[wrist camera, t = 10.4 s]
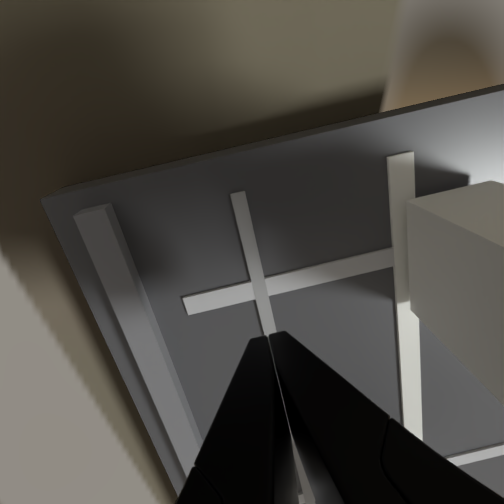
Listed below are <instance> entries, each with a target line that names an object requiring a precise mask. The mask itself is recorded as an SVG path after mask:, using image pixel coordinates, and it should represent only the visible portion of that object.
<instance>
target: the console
mask: <svg viewBox="0 0 504 504" xmlns="http://www.w3.org/2000/svg"><path fill="white" fill-rule="evenodd" d="M490 180H492V181H495V182H499V183H503V184H504V84H501V85H497V86H492V87H488V88H484V89H479V90H475V91H471V92H467V93H463V94H458V95H454V96H450V97H445V98H441V99H437V100H433V101H428V102H424V103H420V104H416V105H411V106H407V107H403V108H399V109H395V110H390V111H386V112H382V113H377V114H373V115H369V116H365V117H360V118H356V119H352V120H348V121H343V122H339V123H335V124H331V125H326V126H322V127H318V128H314V129H309V130H305V131H301V132H297V133H292V134H288V135H284V136H279V137H275V138H271V139H267V140H262V141H258V142H254V143H250V144H245V145H241V146H237V147H233V148H228V149H224V150H220V151H216V152H211V153H207V154H203V155H199V156H194V157H190V158H186V159H182V160H177V161H173V162H169V163H165V164H160V165H156V166H152V167H148V168H143V169H139V170H135V171H131V172H126V173H122V174H118V175H114V176H109V177H105V178H101V179H97V180H92V181H88V182H84V183H80V184H75V185H71V186H67V187H63V188H61V189H59V190H57V191H55V192H53V193H51V194H49V195H47V196H45V197H43V198H41V199H40V202H41V204H42V206H43V208H44V210H45V212H46V214H47V217H48V219H49V221H50V223H51V225H52V227H53V229H54V232H55V234H56V236H57V238H58V240H59V242H60V244H61V247H62V249H63V251H64V253H65V255H66V257H67V260H68V262H69V264H70V266H71V268H72V270H73V272H74V275H75V277H76V279H77V281H78V283H79V285H80V287H81V290H82V292H83V294H84V296H85V298H86V300H87V302H88V305H89V307H90V309H91V311H92V313H93V315H94V317H95V320H96V322H97V324H98V326H99V328H100V330H101V332H102V335H103V337H104V339H105V341H106V343H107V345H108V347H109V350H110V352H111V354H112V356H113V358H114V360H115V363H116V365H117V367H118V369H119V371H120V373H121V375H122V378H123V380H124V382H125V384H126V386H127V388H128V390H129V393H130V395H131V397H132V399H133V401H134V403H135V405H136V408H137V410H138V412H139V414H140V416H141V418H142V420H143V423H144V425H145V427H146V429H147V431H148V433H149V435H150V438H151V440H152V442H153V444H154V446H155V448H156V451H157V453H158V455H159V457H160V459H161V461H162V463H163V466H164V468H165V470H166V472H167V474H168V476H169V478H170V481H171V483H172V485H173V487H174V489H175V491H176V493H177V496H179V494H180V492H181V490H182V488H183V486H184V484H185V481H186V479H187V477H188V475H189V472H190V470H191V468H192V467H193V466H194V462H195V459H196V457H197V455H198V453H199V451H200V448H201V446H202V444H203V442H204V439H205V437H206V435H207V433H208V430H209V428H210V426H211V424H212V422H213V419H214V417H215V415H216V413H217V410H218V408H219V406H220V404H221V401H222V399H223V397H224V395H225V393H226V390H227V388H228V386H229V384H230V381H231V379H232V377H233V375H234V372H235V370H236V368H237V366H238V364H239V361H240V359H241V357H242V355H243V352H244V350H245V348H246V346H247V343H248V341H249V340H250V339H251V338H254V337H258V336H262V335H266V336H267V337H268V336H269V334H271V333H275V332H279V331H283V330H284V331H287V332H288V333H289V334H291V335H292V336H293V337H294V338H295V339H297V340H298V341H299V342H300V343H302V344H303V345H304V346H305V347H307V348H308V349H309V350H310V351H311V352H313V353H314V354H315V355H316V356H318V357H319V358H320V359H321V360H323V361H324V362H325V363H326V364H327V365H329V366H330V367H331V368H332V369H334V370H335V371H336V372H337V373H338V374H340V375H341V376H342V377H343V378H345V379H346V380H347V381H348V382H350V383H351V384H352V385H353V386H354V387H356V388H357V389H358V390H359V391H361V392H362V393H363V394H364V395H366V396H367V397H368V398H369V399H370V400H372V401H373V402H374V403H375V404H377V405H378V406H379V407H380V408H381V409H383V410H384V411H385V412H386V413H388V414H389V415H390V418H394V419H395V420H396V421H398V422H399V423H400V424H401V425H403V426H404V427H405V428H406V429H407V430H409V431H410V432H411V433H412V434H414V435H415V436H416V437H418V438H419V439H420V440H422V441H423V442H424V443H425V444H427V445H428V446H429V447H431V448H432V449H433V450H435V451H436V452H437V453H439V454H440V455H441V456H443V457H444V458H446V459H447V460H449V461H450V462H452V463H453V464H454V465H456V466H457V467H459V468H460V469H462V470H463V471H465V472H466V473H467V474H469V475H470V476H472V477H473V478H475V479H476V480H478V481H479V482H481V483H482V484H484V485H485V486H487V487H488V488H490V489H491V490H493V491H494V492H496V493H497V494H499V495H500V496H502V497H503V498H504V406H503V405H502V404H501V403H500V402H499V401H498V400H497V398H496V397H495V396H494V395H493V394H492V393H491V392H490V391H489V390H488V389H487V388H486V387H485V386H484V385H483V384H482V383H481V382H480V381H479V380H478V379H477V378H476V377H475V376H474V375H473V374H472V373H471V372H470V371H469V370H468V369H467V368H466V367H465V366H464V365H463V364H462V363H461V361H460V360H459V359H458V358H457V357H456V356H455V355H454V354H453V353H452V352H451V351H450V350H449V349H448V348H447V347H446V346H445V345H444V344H443V343H442V342H441V341H440V340H439V339H438V338H437V337H436V336H435V335H434V334H433V333H432V332H431V331H430V330H429V329H428V328H427V327H426V326H425V324H424V323H423V322H422V321H421V320H420V319H419V318H418V317H417V316H416V315H415V314H414V313H413V312H412V311H411V310H410V287H409V263H408V239H407V215H406V200H410V199H414V198H418V197H422V196H427V195H431V194H435V193H439V192H443V191H448V190H452V189H456V188H460V187H465V186H469V185H473V184H477V183H481V182H486V181H490ZM268 339H269V338H268ZM269 344H270V343H269ZM270 348H271V347H270ZM271 352H272V351H271ZM272 356H273V355H272ZM274 365H275V364H274ZM275 369H276V368H275ZM276 373H277V372H276ZM277 377H278V376H277ZM279 386H280V385H279ZM280 390H281V389H280ZM281 394H282V393H281ZM282 398H283V397H282ZM284 407H285V406H284ZM285 411H286V410H285ZM286 415H287V414H286ZM287 419H288V418H287ZM288 424H289V422H288ZM289 428H290V426H289ZM290 433H291V430H290ZM291 439H292V446H293V454H294V463H295V472H296V480H297V489H298V498H299V504H317V503H316V500H315V498H314V495H313V492H312V490H311V487H310V484H309V481H308V479H307V476H306V473H305V471H304V468H303V465H302V462H301V460H300V457H299V454H298V452H297V449H296V446H295V443H294V440H293V437H292V434H291Z"/></svg>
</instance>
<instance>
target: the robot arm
mask: <svg viewBox="0 0 504 504" xmlns="http://www.w3.org/2000/svg"><path fill="white" fill-rule="evenodd" d="M268 338H269V339H268ZM269 343H270V344H269ZM270 347H271V348H270ZM271 351H272V352H271ZM272 355H273V356H272ZM274 364H275V365H274ZM275 368H276V369H275ZM276 372H277V373H276ZM277 376H278V377H277ZM279 385H280V386H279ZM280 389H281V390H280ZM281 393H282V394H281ZM282 397H283V398H282ZM284 406H285V407H284ZM285 410H286V411H285ZM286 414H287V415H286ZM287 418H288V419H287ZM288 422H289V424H288ZM289 426H290V428H289ZM290 430H291V433H290ZM291 434H292V437H293V440H294V443H295V446H296V449H297V452H298V454H299V457H300V460H301V462H302V465H303V468H304V471H305V473H306V476H307V479H308V481H309V484H310V487H311V490H312V492H313V495H314V498H315V500H316V503H317V504H504V498H503V497H502V496H500V495H499V494H497V493H496V492H494V491H493V490H491V489H490V488H488V487H487V486H485V485H484V484H482V483H481V482H479V481H478V480H476V479H475V478H473V477H472V476H470V475H469V474H467V473H466V472H465V471H463V470H462V469H460V468H459V467H457V466H456V465H454V464H453V463H452V462H450V461H449V460H447V459H446V458H444V457H443V456H441V455H440V454H439V453H437V452H436V451H435V450H433V449H432V448H431V447H429V446H428V445H427V444H425V443H424V442H423V441H422V440H420V439H419V438H418V437H416V436H415V435H414V434H412V433H411V432H410V431H409V430H407V429H406V428H405V427H404V426H403V425H401V424H400V423H399V422H398V421H396V420H395V419H394V418H390V415H389V414H388V413H386V412H385V411H384V410H383V409H381V408H380V407H379V406H378V405H377V404H375V403H374V402H373V401H372V400H370V399H369V398H368V397H367V396H366V395H364V394H363V393H362V392H361V391H359V390H358V389H357V388H356V387H354V386H353V385H352V384H351V383H350V382H348V381H347V380H346V379H345V378H343V377H342V376H341V375H340V374H338V373H337V372H336V371H335V370H334V369H332V368H331V367H330V366H329V365H327V364H326V363H325V362H324V361H323V360H321V359H320V358H319V357H318V356H316V355H315V354H314V353H313V352H311V351H310V350H309V349H308V348H307V347H305V346H304V345H303V344H302V343H300V342H299V341H298V340H297V339H295V338H294V337H293V336H292V335H291V334H289V333H288V332H287V331H284V330H283V331H279V332H275V333H271V334H269V336H268V337H267V336H266V335H262V336H258V337H254V338H251V339H250V340H249V341H248V343H247V346H246V348H245V350H244V352H243V355H242V357H241V359H240V361H239V364H238V366H237V368H236V370H235V372H234V375H233V377H232V379H231V381H230V384H229V386H228V388H227V390H226V393H225V395H224V397H223V399H222V401H221V404H220V406H219V408H218V410H217V413H216V415H215V417H214V419H213V422H212V424H211V426H210V428H209V430H208V433H207V435H206V437H205V439H204V442H203V444H202V446H201V448H200V451H199V453H198V455H197V457H196V459H195V462H194V466H193V467H192V468H191V470H190V472H189V475H188V477H187V479H186V481H185V484H184V486H183V488H182V490H181V492H180V494H179V496H178V498H177V501H176V503H175V504H299V498H298V489H297V480H296V472H295V463H294V454H293V446H292V439H291Z"/></svg>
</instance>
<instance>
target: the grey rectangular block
mask: <svg viewBox="0 0 504 504" xmlns="http://www.w3.org/2000/svg"><path fill="white" fill-rule="evenodd" d="M406 215H407V239H408V263H409V287H410V310H411V311H412V312H413V313H414V314H415V315H416V316H417V317H418V318H419V319H420V320H421V321H422V322H423V323H424V324H425V326H426V327H427V328H428V329H429V330H430V331H431V332H432V333H433V334H434V335H435V336H436V337H437V338H438V339H439V340H440V341H441V342H442V343H443V344H444V345H445V346H446V347H447V348H448V349H449V350H450V351H451V352H452V353H453V354H454V355H455V356H456V357H457V358H458V359H459V360H460V361H461V363H462V364H463V365H464V366H465V367H466V368H467V369H468V370H469V371H470V372H471V373H472V374H473V375H474V376H475V377H476V378H477V379H478V380H479V381H480V382H481V383H482V384H483V385H484V386H485V387H486V388H487V389H488V390H489V391H490V392H491V393H492V394H493V395H494V396H495V397H496V398H497V400H498V401H499V402H500V403H501V404H502V405H503V406H504V184H503V183H499V182H495V181H492V180H490V181H486V182H481V183H477V184H473V185H469V186H465V187H460V188H456V189H452V190H448V191H443V192H439V193H435V194H431V195H427V196H422V197H418V198H414V199H410V200H406Z"/></svg>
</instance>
